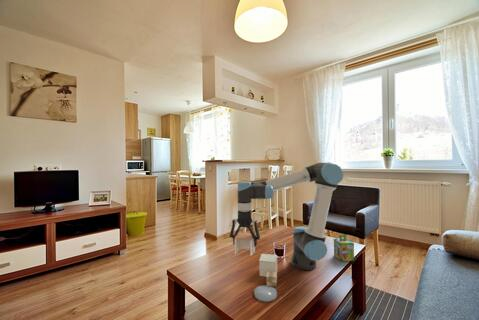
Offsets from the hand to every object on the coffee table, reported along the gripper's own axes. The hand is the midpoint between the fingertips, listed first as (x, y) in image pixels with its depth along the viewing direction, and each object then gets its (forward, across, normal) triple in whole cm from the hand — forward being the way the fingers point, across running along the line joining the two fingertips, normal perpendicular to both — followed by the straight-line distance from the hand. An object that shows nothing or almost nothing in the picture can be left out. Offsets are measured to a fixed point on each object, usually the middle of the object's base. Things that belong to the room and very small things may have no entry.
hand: (244, 251), depth 117 cm
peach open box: (0, 0, 0) cm, 0 cm away
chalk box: (+15, -58, -39) cm, 71 cm away
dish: (+16, -12, +10) cm, 22 cm away
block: (+16, -14, 0) cm, 22 cm away
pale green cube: (+16, -12, -11) cm, 22 cm away
